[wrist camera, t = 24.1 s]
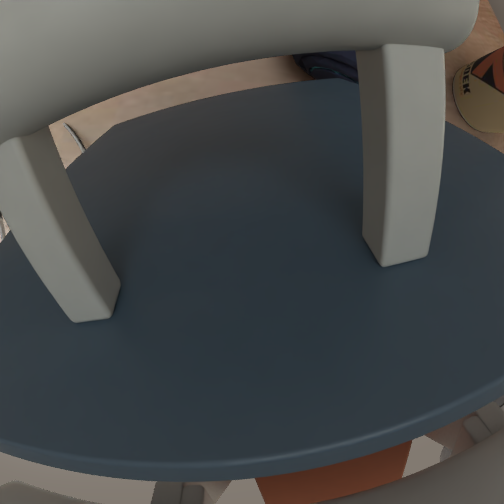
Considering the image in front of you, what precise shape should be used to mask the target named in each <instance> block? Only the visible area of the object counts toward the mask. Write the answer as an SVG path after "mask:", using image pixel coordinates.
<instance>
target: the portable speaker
mask: <svg viewBox="0 0 504 504" xmlns="http://www.w3.org/2000/svg"><path fill="white" fill-rule="evenodd" d="M292 56H293V58H294V60H295V63H296V64H297V65H298V66H299V67H300V68H301V69H302V70H304V71H305V72H306V73H307V74H309V75H311V76H312V77H313V78H315V79H316V80H320V79H332V78H341V79H344V80H347V81H350V82H353V83H356V84H359V79H358V69H357V60H356V51H329V52H314V53H303V54H293V55H292Z"/></svg>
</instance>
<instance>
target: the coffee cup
mask: <svg viewBox="0 0 504 504" xmlns="http://www.w3.org/2000/svg"><path fill="white" fill-rule="evenodd" d="M453 95H454V99H455V103H456V105H457V108H458V110H459V112H460V114H461V115H462V117H463V118H464V120H465V121H466V122H467V123H468V124H469V125H470V126H471V127H473V128H474V129H476V130H478V131H481V132H490V133H504V47H502V48H500V49H497V50H495V51H493V52H491V53H489V54H487V55H485V56H483V57H481V58H479V59H477V60H475V61H473V62H471V63H470V64H468V65H466V66H464V67H463V68H461V69H459V70H458V71H457V73H456V74H455V77H454V80H453Z"/></svg>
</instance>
